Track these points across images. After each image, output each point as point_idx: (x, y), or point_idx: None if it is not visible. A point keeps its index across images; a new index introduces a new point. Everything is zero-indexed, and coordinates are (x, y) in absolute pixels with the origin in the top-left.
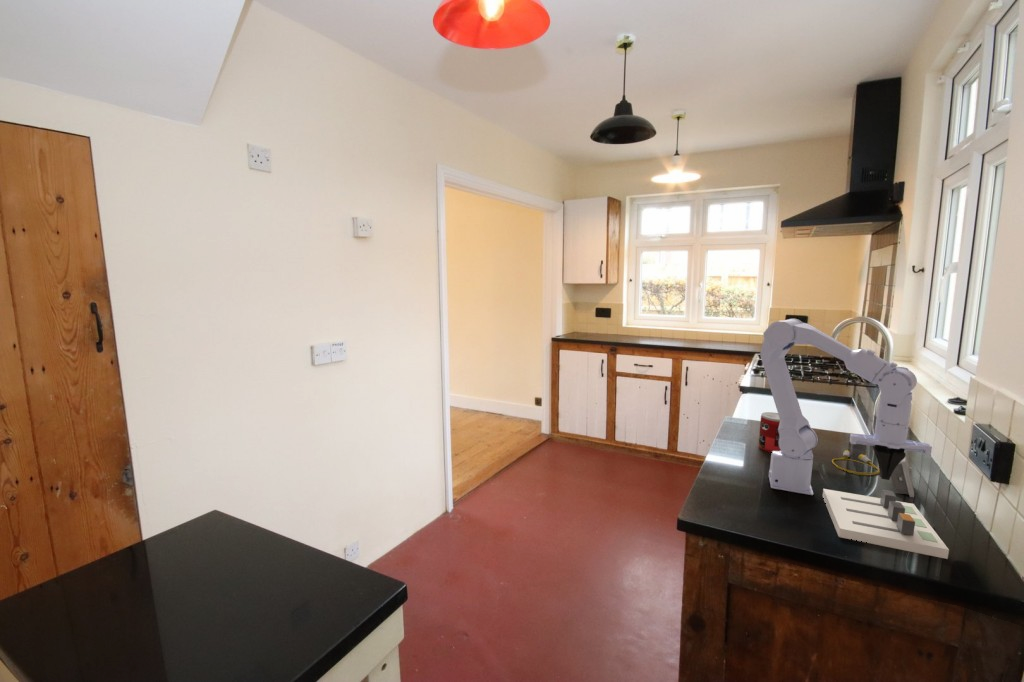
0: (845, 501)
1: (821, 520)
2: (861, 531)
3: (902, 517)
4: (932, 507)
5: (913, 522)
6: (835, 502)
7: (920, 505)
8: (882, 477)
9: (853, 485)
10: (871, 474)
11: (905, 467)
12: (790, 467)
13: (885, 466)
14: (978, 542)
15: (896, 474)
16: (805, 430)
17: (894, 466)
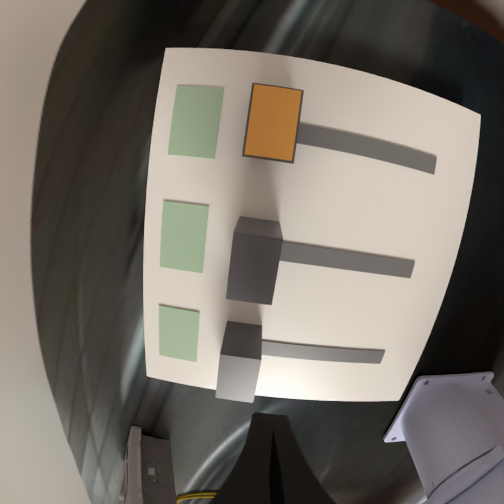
0: (380, 337)
1: (472, 217)
2: (428, 100)
3: (298, 108)
4: (101, 388)
5: (259, 83)
6: (419, 316)
7: (125, 394)
8: (288, 421)
9: None
10: (196, 494)
11: (135, 497)
12: (493, 424)
13: (292, 476)
14: (49, 213)
15: (159, 483)
16: None
17: (238, 479)
